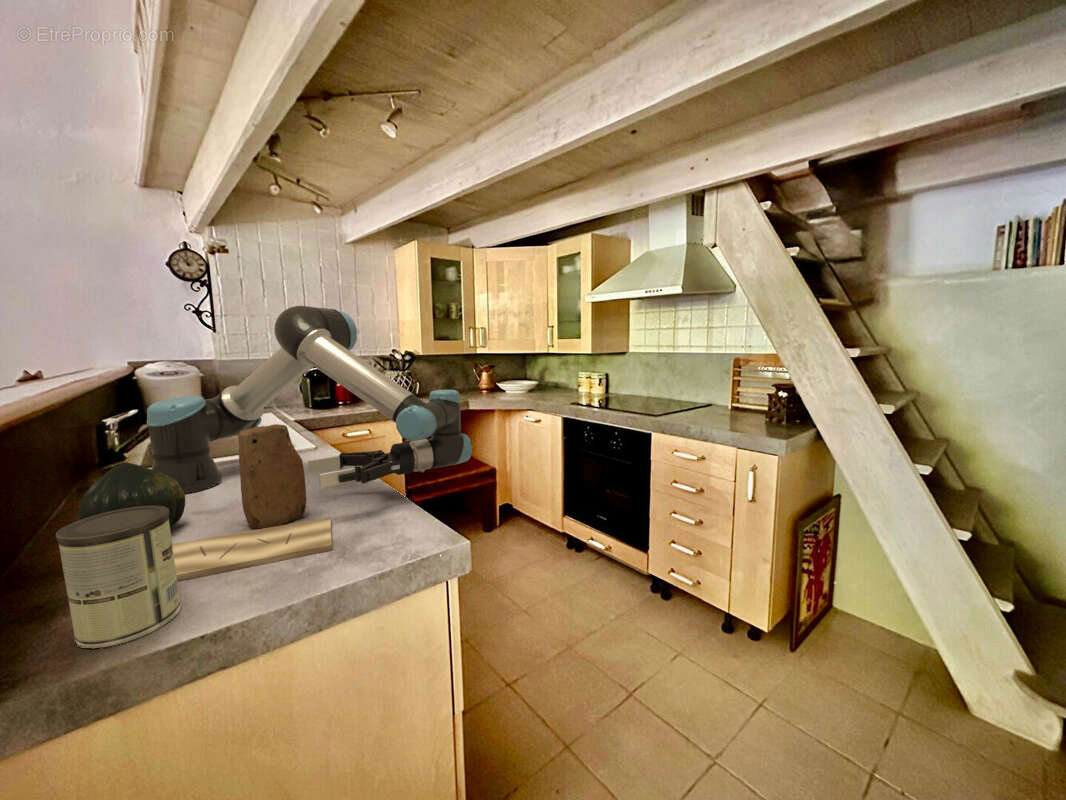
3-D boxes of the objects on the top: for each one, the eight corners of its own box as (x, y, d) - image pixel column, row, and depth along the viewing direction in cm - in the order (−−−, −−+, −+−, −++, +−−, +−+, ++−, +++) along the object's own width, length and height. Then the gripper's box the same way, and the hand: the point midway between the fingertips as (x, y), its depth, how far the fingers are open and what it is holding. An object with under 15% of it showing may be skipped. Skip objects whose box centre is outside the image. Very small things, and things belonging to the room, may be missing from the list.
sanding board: (156, 552, 76) (155, 546, 75) (330, 521, 88) (330, 516, 87) (122, 592, 63) (122, 585, 63) (331, 550, 75) (331, 544, 75)
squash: (150, 523, 75) (170, 448, 83) (42, 538, 71) (73, 458, 79) (189, 547, 86) (202, 479, 94) (97, 561, 82) (119, 489, 90)
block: (250, 534, 82) (240, 432, 80) (242, 523, 88) (232, 427, 85) (311, 518, 90) (303, 424, 87) (300, 509, 95) (292, 420, 93)
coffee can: (75, 623, 56) (59, 520, 54) (177, 591, 63) (165, 499, 61) (70, 664, 49) (50, 546, 47) (185, 622, 56) (172, 518, 54)
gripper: (431, 484, 94) (327, 506, 82) (394, 461, 115) (306, 476, 102) (429, 451, 94) (324, 469, 81) (392, 434, 114) (303, 446, 101)
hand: (313, 473), depth 92 cm, fingers open, 13 cm apart
